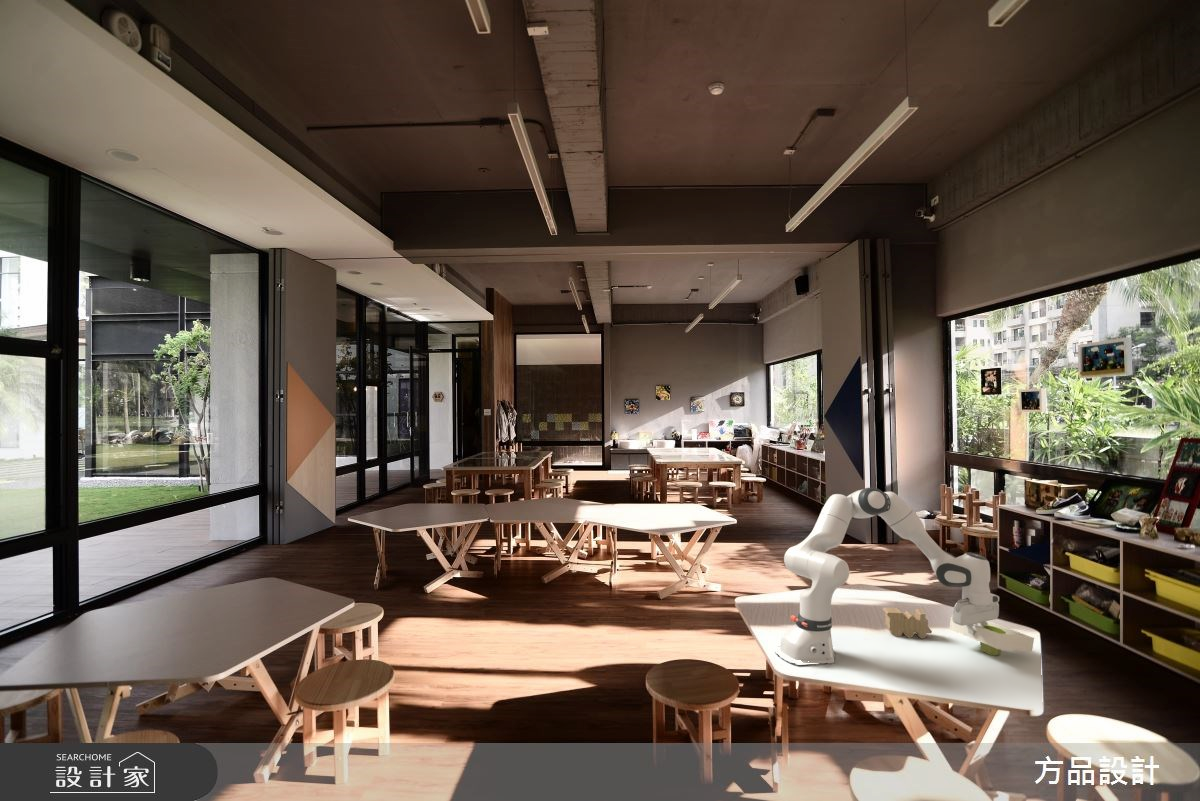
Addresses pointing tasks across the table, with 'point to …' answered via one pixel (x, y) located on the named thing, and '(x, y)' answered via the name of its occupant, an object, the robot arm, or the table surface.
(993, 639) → the cream open tray
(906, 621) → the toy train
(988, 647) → the plant pot
